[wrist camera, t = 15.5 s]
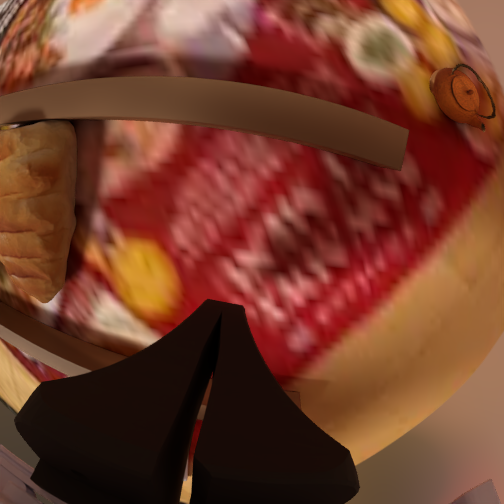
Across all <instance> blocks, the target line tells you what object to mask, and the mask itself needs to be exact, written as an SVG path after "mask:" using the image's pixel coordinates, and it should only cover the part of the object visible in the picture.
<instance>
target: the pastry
mask: <svg viewBox="0 0 504 504" xmlns="http://www.w3.org/2000/svg"><path fill="white" fill-rule="evenodd" d="M76 179H77V137H76V134H75V130H74V127H73V125H72V124H71V123H70V122H69V121H68V120H65V119H59V120H44V121H40V122H38V123H35V124H33V125H27V126H19V127H16V128H11V129H8V130H0V261H1V262H2V263H3V264H4V265H5V268H6V270H7V272H8V274H9V275H10V277H11V279H12V281H13V283H14V284H15V285H16V286H17V287H18V288H19V289H21V290H22V291H24V292H25V293H27V294H29V295H31V296H33V297H35V298H36V299H38V300H39V301H40V302H42V303H48V302H49V301H51V300H52V299H53V298H54V296H55V295H56V294H57V293H58V292H59V291H60V290H61V289H62V287H63V286H64V282H65V275H66V270H67V258H68V253H69V249H70V241H71V238H72V235H73V233H74V230H75V227H76V217H75V214H74V208H75V186H76Z"/></svg>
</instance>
